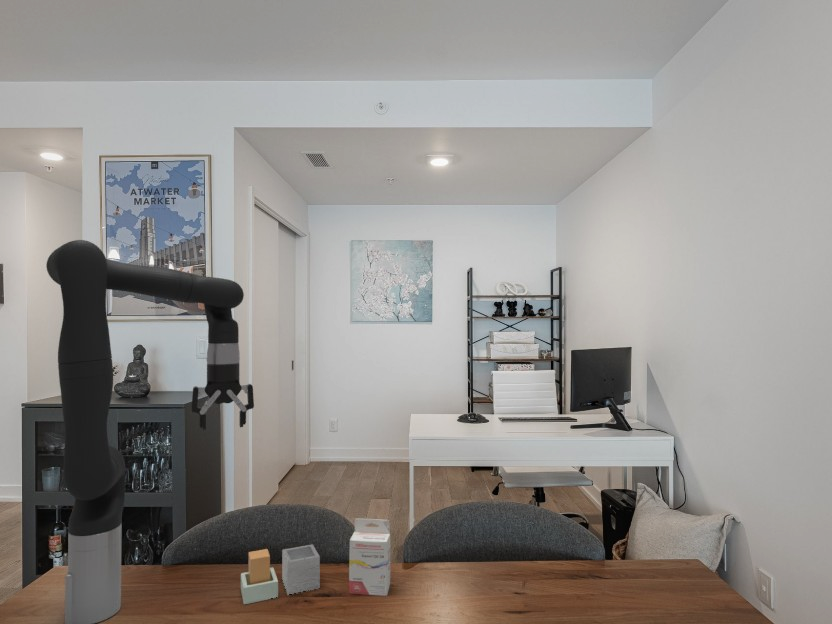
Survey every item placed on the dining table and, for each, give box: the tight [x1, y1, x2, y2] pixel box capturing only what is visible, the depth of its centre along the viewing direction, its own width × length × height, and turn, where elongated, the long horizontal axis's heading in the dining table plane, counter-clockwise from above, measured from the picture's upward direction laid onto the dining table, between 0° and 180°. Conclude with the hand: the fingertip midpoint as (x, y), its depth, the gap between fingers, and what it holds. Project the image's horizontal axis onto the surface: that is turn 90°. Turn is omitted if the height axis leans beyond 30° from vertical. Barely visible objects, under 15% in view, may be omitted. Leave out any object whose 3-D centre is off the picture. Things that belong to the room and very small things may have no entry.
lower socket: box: [240, 567, 279, 605], centre depth 113 cm, size 7×7×3 cm
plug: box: [247, 548, 271, 585], centre depth 113 cm, size 4×4×8 cm
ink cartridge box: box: [348, 517, 391, 597], centre depth 114 cm, size 9×5×15 cm, turn 84°
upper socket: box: [281, 543, 321, 596], centre depth 116 cm, size 7×7×7 cm
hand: (223, 428), depth 127 cm, fingers open, 8 cm apart
